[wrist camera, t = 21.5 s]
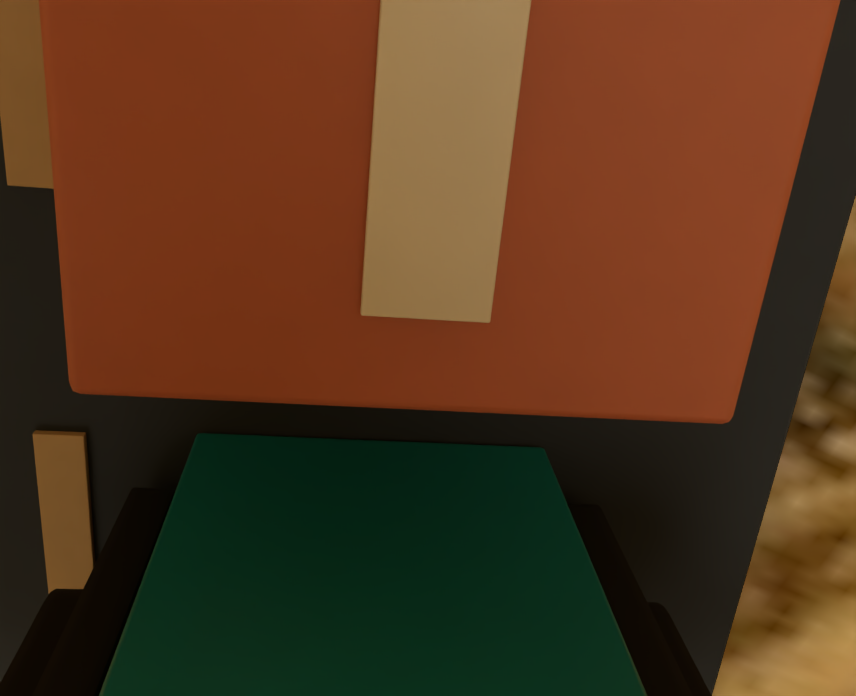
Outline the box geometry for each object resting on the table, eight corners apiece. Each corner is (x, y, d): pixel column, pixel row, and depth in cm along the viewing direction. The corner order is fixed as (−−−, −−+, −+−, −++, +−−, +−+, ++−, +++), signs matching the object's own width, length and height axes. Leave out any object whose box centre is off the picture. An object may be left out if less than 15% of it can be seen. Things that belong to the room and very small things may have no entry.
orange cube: (187, -242, 8) (-23, -551, 3) (648, -182, 8) (960, -388, 4) (194, 226, 9) (60, 404, 5) (576, 253, 10) (741, 437, 6)
